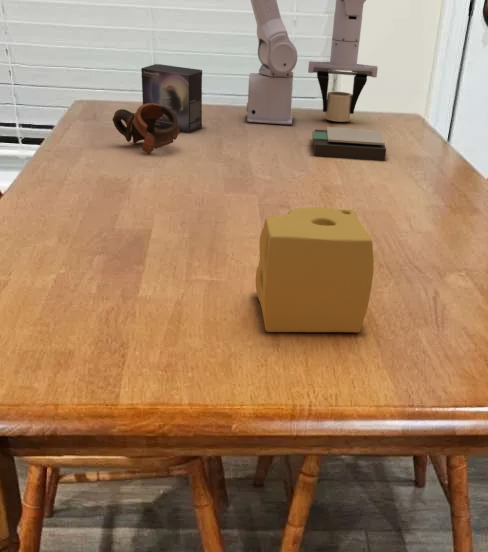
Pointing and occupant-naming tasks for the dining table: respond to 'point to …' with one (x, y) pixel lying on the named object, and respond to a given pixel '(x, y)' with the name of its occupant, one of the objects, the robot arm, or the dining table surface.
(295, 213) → the cheese
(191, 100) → the small box
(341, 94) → the small cup
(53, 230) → the dining table surface
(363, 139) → the scale
